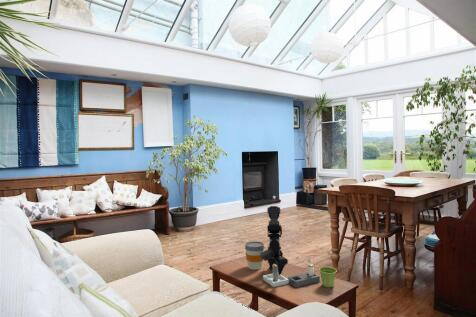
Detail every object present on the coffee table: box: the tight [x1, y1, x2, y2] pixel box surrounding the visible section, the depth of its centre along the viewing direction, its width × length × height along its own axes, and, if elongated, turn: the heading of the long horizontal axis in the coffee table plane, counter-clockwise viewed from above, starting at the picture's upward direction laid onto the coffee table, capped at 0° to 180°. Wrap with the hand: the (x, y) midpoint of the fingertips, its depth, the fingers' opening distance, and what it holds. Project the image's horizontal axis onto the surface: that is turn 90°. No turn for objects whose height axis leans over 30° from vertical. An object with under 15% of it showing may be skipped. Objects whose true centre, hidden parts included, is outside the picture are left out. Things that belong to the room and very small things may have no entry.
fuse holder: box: [287, 272, 321, 288], centre depth 177 cm, size 8×16×3 cm, turn 114°
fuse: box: [307, 263, 315, 277], centre depth 179 cm, size 3×3×9 cm
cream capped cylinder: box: [272, 264, 278, 281], centre depth 179 cm, size 3×3×9 cm
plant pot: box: [318, 266, 338, 288], centre depth 172 cm, size 9×9×9 cm
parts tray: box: [262, 272, 290, 288], centre depth 179 cm, size 12×10×2 cm
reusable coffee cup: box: [244, 241, 265, 270], centre depth 203 cm, size 13×13×15 cm
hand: (275, 271), depth 179 cm, fingers open, 9 cm apart
